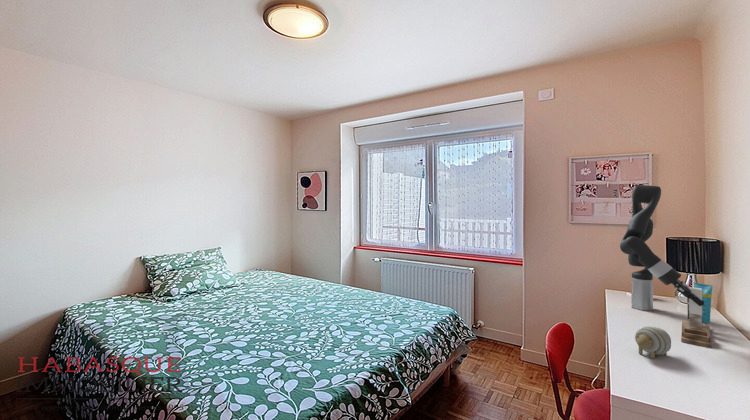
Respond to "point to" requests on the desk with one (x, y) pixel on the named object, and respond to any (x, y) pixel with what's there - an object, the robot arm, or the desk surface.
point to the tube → (705, 300)
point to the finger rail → (695, 331)
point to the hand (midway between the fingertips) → (702, 303)
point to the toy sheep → (653, 341)
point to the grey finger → (692, 305)
